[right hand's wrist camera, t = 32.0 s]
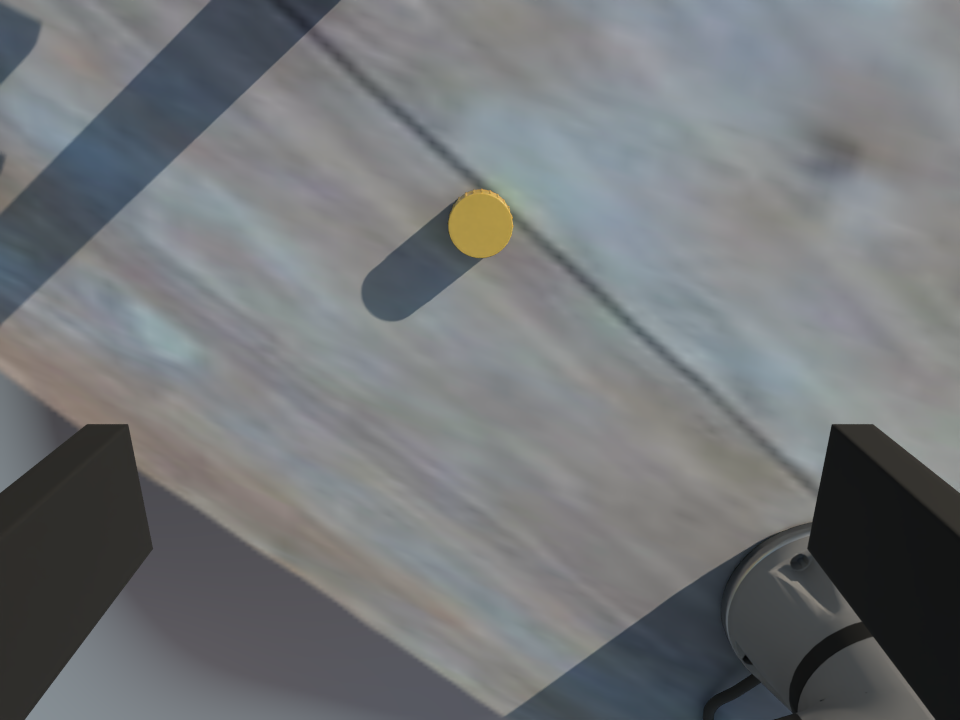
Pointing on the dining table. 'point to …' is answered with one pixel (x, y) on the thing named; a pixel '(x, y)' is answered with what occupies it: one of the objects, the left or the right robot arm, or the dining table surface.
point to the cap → (480, 223)
